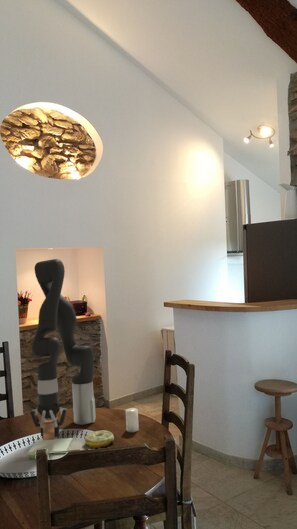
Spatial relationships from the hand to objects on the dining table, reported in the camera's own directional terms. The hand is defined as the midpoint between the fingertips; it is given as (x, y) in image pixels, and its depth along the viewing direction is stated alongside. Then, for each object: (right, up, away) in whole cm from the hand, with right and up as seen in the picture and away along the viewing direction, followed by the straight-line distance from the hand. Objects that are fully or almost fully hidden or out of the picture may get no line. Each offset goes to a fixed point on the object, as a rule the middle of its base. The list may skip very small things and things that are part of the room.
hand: (50, 436), depth 155 cm
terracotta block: (0, -1, 0) cm, 1 cm away
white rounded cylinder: (+30, -3, +14) cm, 34 cm away
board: (0, -4, 0) cm, 4 cm away
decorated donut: (+18, -4, +2) cm, 19 cm away
